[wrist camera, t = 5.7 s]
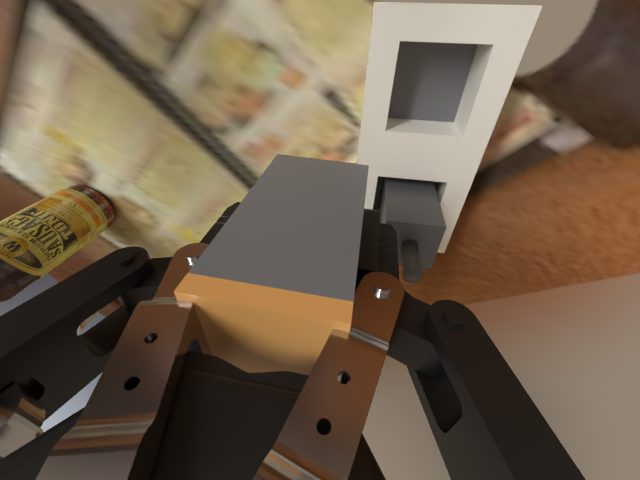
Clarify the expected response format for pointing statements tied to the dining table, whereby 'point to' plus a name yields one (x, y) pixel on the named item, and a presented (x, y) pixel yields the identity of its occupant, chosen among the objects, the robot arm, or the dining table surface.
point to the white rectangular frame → (433, 112)
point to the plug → (282, 266)
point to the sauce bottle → (49, 235)
